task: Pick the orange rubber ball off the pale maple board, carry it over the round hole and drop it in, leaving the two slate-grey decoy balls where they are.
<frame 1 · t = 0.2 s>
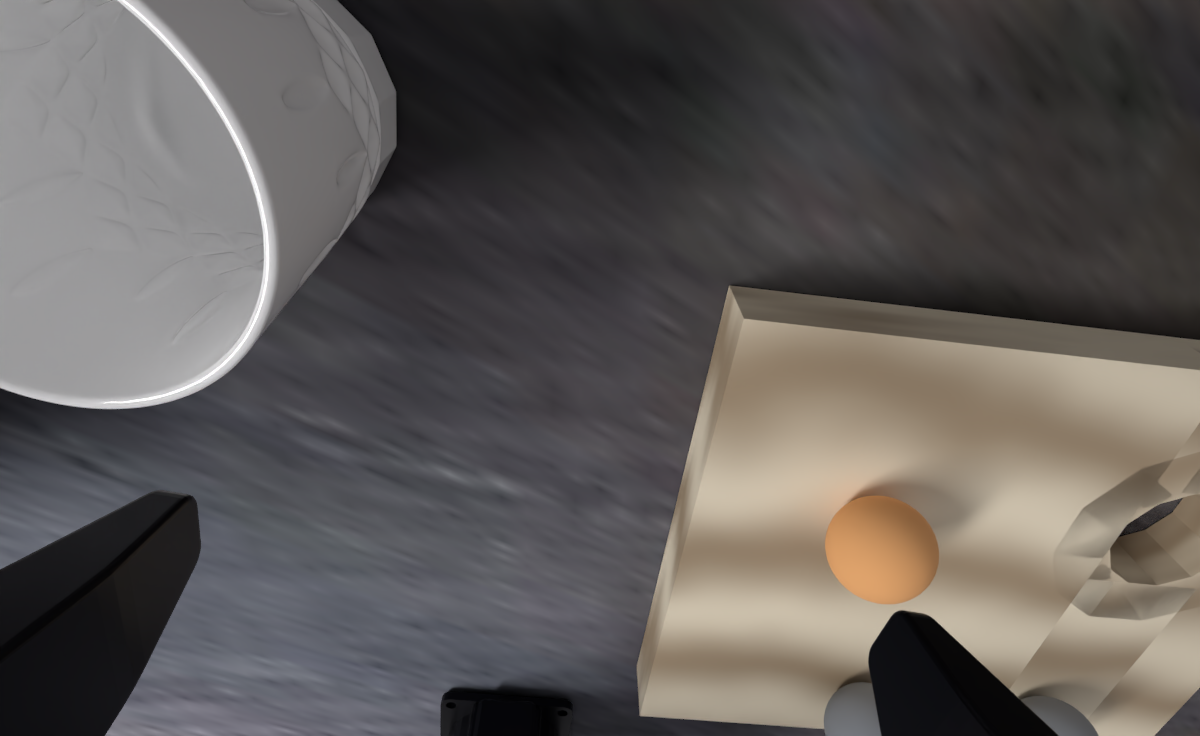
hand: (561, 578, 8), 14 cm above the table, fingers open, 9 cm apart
ball: (880, 548, 22), point 4 cm above the table, touching board
white cup: (284, 99, 19), on the table
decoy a: (868, 728, 27), point 4 cm above the table, touching board
board: (956, 537, 28), on the table
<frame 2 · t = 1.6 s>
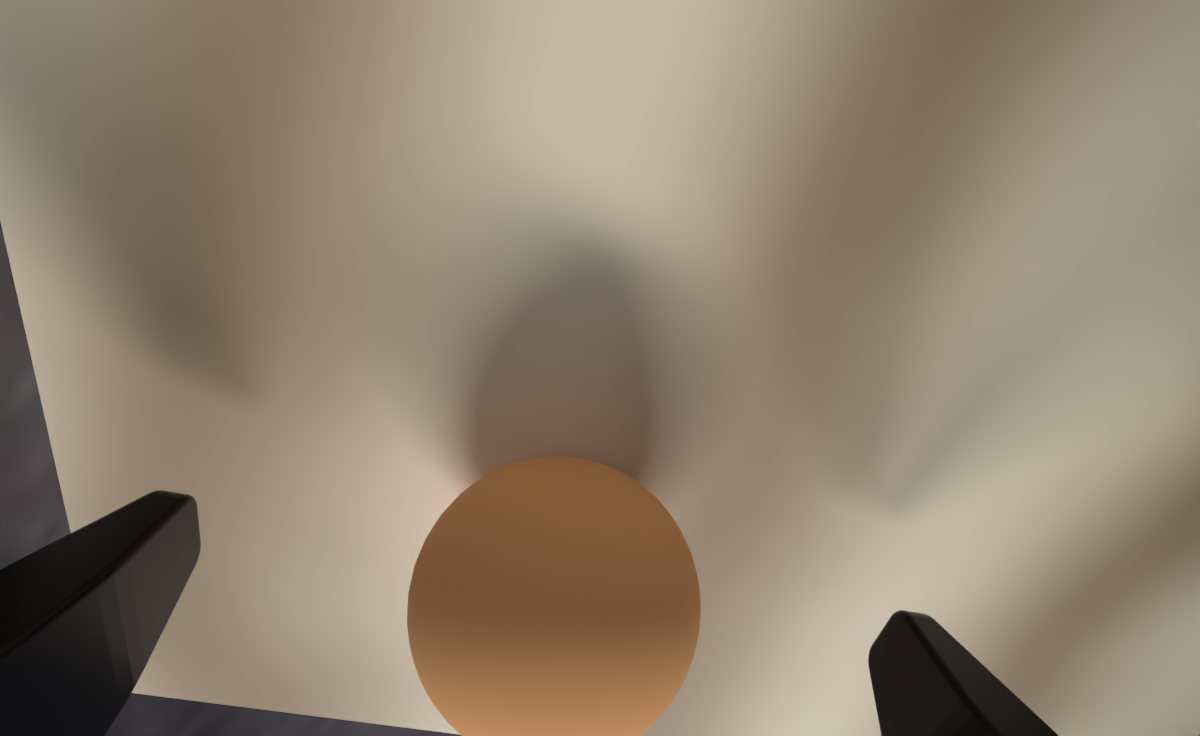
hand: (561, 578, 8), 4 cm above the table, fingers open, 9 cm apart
ball: (556, 600, 8), point 4 cm above the table, touching board
board: (866, 97, 9), on the table
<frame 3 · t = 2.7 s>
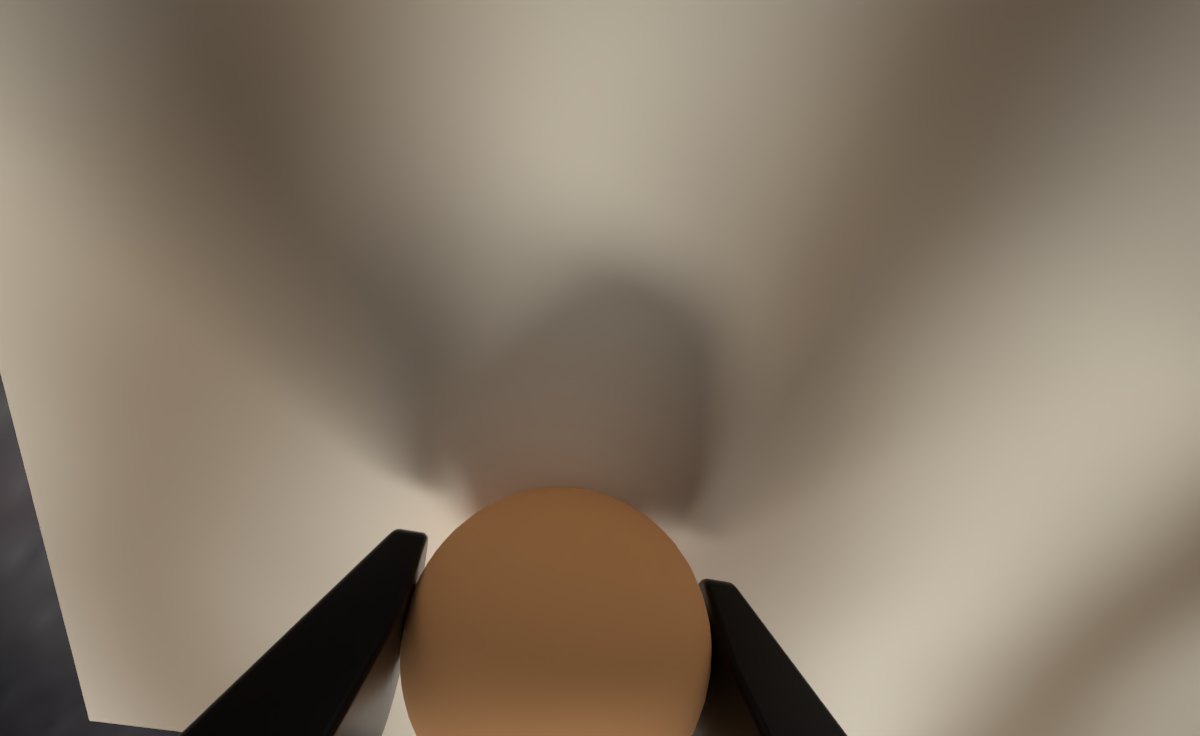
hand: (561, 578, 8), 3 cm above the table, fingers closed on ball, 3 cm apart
ball: (557, 640, 8), point 4 cm above the table, touching board, gripper
board: (883, 106, 9), on the table
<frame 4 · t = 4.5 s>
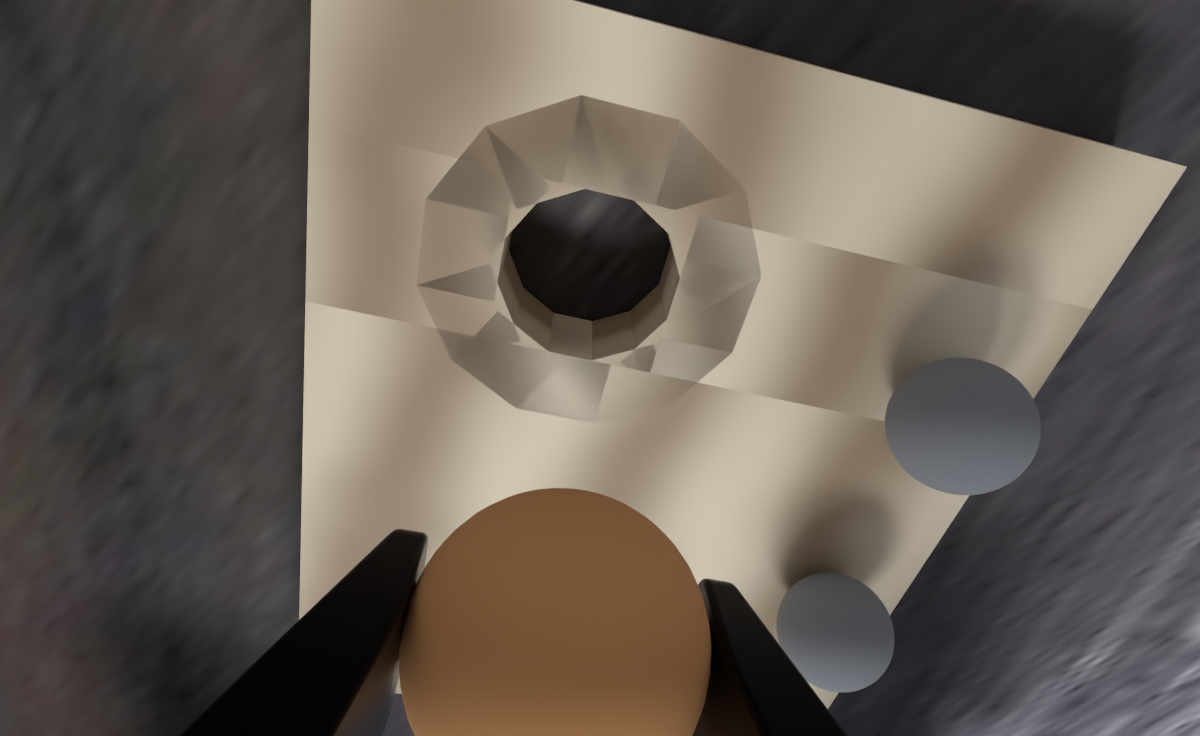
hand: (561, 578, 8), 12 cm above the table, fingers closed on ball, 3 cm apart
decoy b: (958, 425, 17), point 4 cm above the table, touching board
ball: (557, 642, 8), point 13 cm above the table, touching gripper
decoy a: (833, 630, 21), point 4 cm above the table, touching board
board: (636, 434, 22), on the table
when the fingers open (4 cm above the table, at t = 6.1 s): ball drops 3 cm, point 2 cm above the table.
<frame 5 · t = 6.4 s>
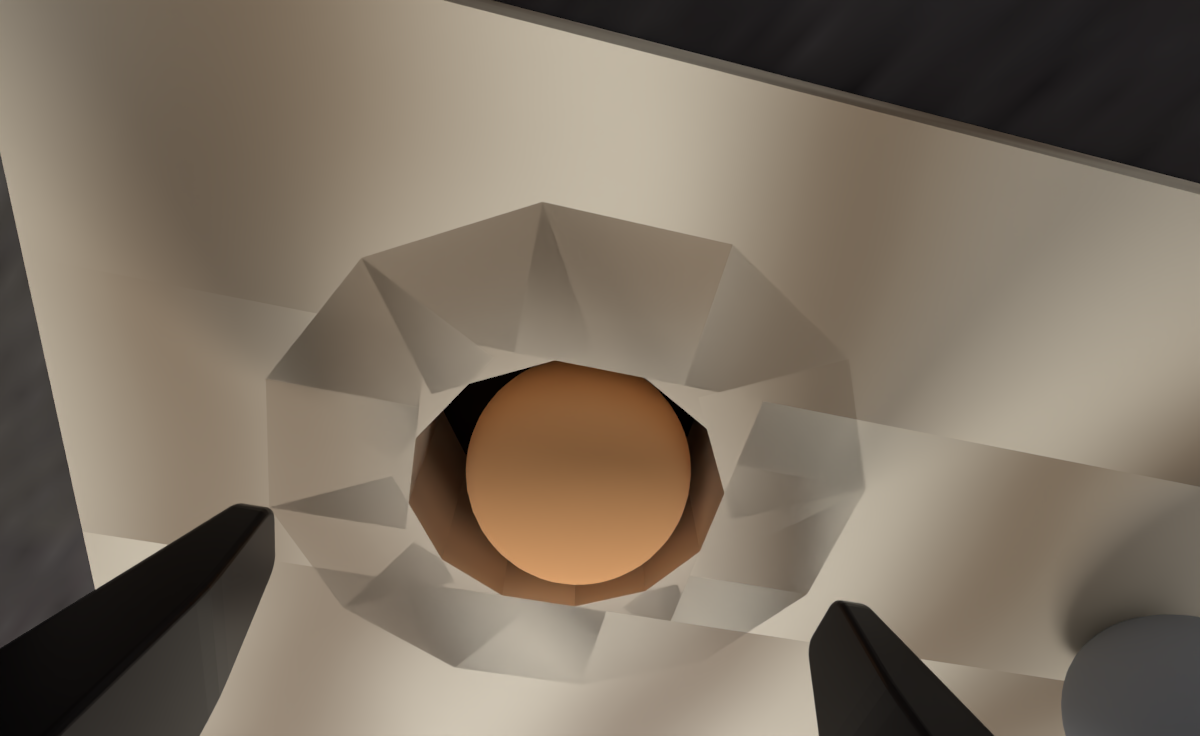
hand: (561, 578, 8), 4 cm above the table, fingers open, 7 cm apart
ball: (578, 468, 10), point 2 cm above the table, tilted 8°
board: (645, 642, 15), on the table
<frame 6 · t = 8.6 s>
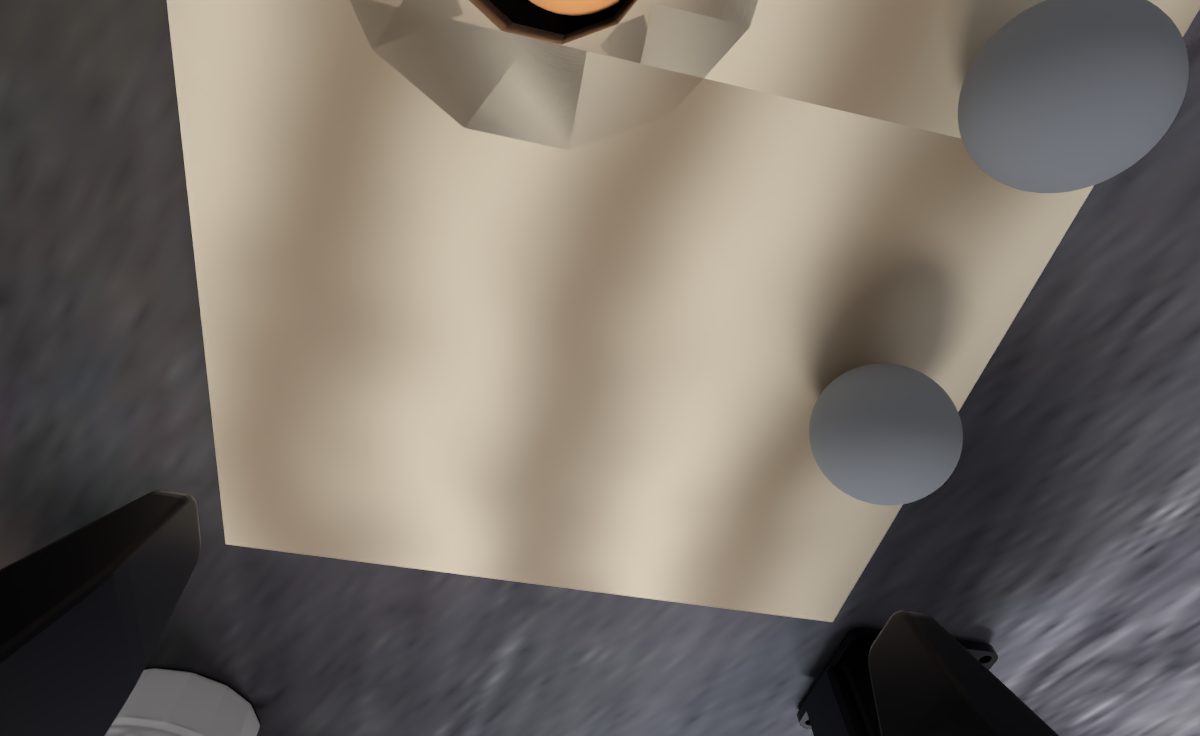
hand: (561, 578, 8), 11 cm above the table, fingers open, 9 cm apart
decoy b: (1063, 96, 12), point 4 cm above the table, touching board
white cup: (183, 708, 29), on the table
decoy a: (882, 433, 16), point 4 cm above the table, touching board
board: (626, 208, 18), on the table
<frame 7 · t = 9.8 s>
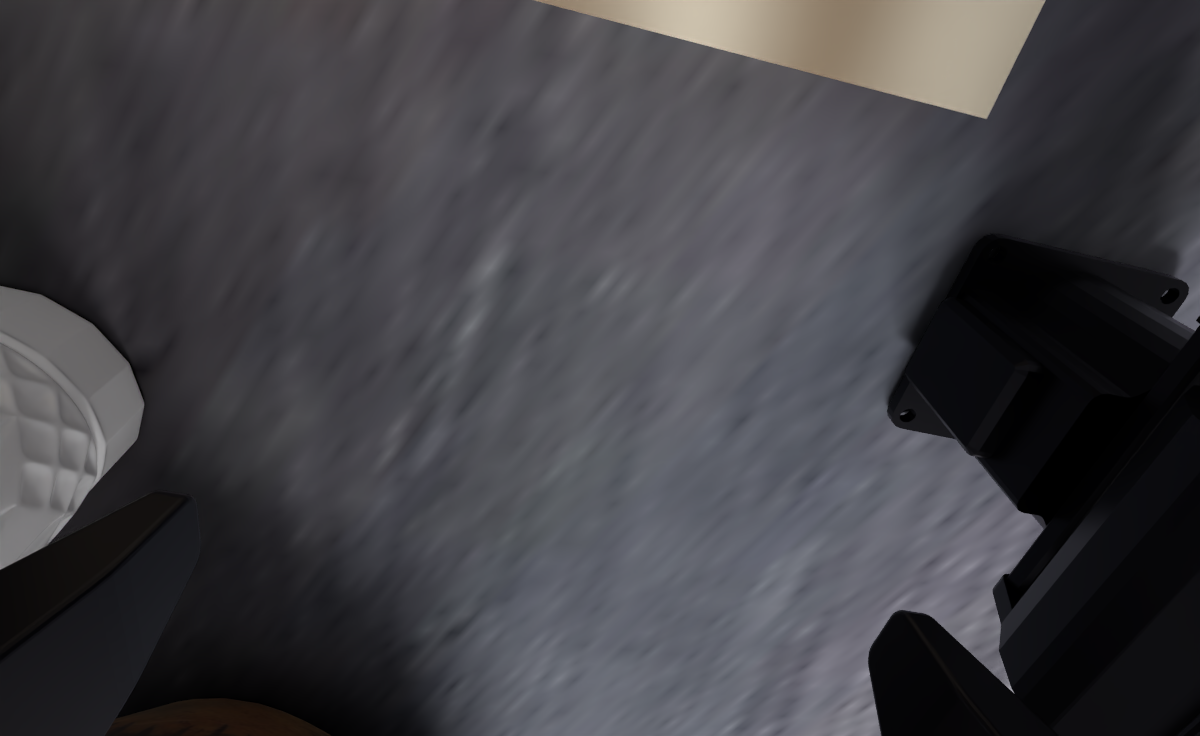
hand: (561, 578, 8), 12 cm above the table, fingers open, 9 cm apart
white cup: (39, 376, 21), on the table
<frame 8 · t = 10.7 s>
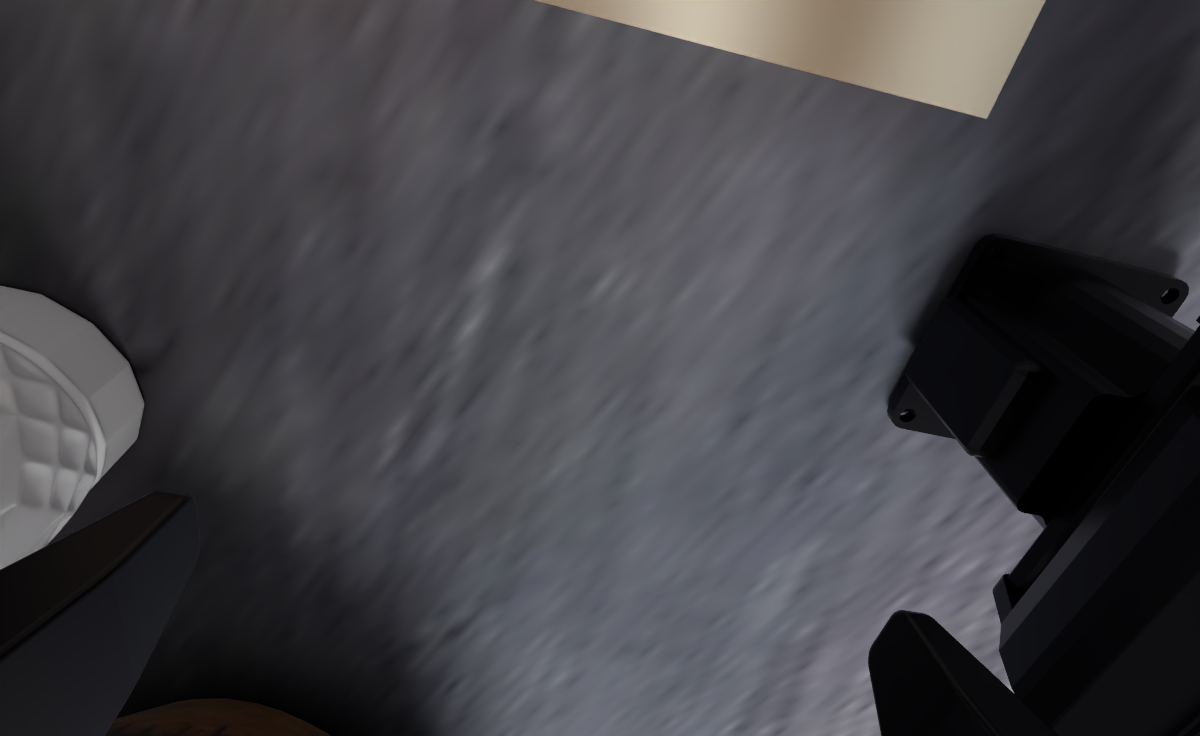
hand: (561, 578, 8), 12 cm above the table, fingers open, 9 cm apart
white cup: (39, 376, 21), on the table
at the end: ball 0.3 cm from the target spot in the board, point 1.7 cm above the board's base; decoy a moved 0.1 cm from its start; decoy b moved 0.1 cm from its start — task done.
